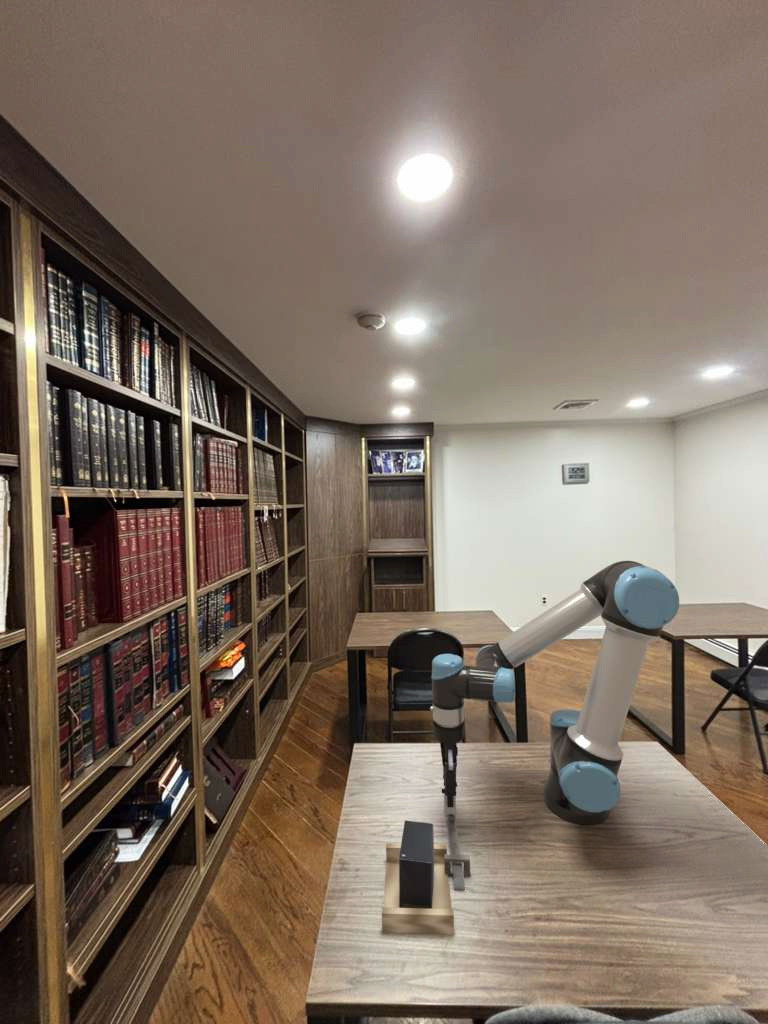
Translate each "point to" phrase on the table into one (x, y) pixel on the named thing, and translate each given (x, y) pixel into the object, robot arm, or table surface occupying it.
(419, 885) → the small box
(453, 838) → the lock bolt
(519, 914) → the table surface
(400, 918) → the cradle
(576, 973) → the table surface
